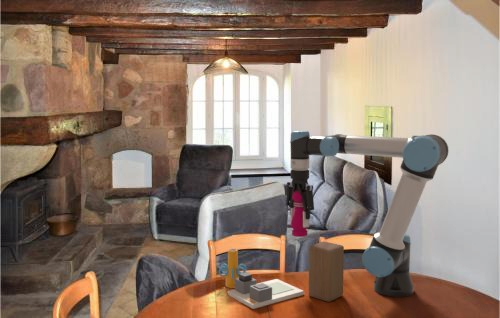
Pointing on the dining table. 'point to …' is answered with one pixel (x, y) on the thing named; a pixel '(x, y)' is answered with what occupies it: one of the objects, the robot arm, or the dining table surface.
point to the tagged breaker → (260, 286)
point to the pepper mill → (298, 216)
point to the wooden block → (326, 271)
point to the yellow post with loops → (232, 268)
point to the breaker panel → (263, 292)
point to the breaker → (245, 276)
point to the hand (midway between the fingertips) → (299, 225)
